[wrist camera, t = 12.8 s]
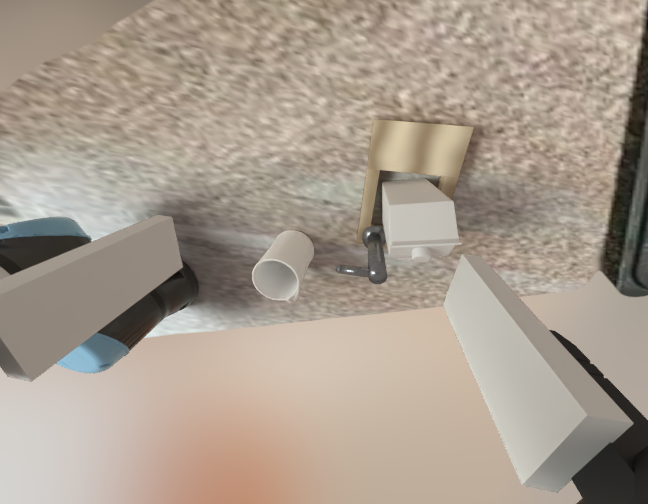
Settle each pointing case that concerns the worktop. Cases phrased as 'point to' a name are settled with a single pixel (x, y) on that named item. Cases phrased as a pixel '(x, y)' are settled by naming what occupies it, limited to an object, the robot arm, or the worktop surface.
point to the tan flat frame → (413, 157)
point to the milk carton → (418, 220)
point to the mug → (283, 266)
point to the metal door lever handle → (370, 257)
